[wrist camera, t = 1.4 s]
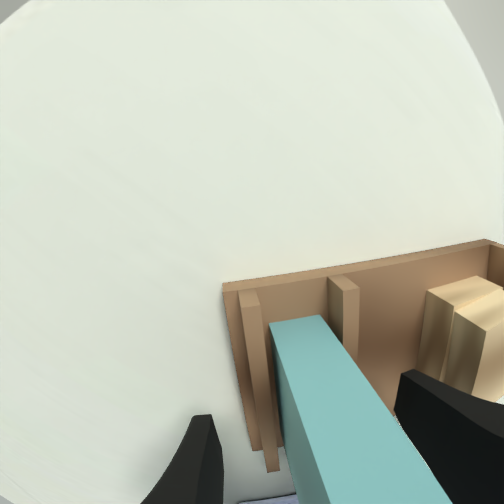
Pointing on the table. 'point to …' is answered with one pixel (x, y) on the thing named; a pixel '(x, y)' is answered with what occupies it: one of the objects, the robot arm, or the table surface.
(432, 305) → the lower oak offcut
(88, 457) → the table surface
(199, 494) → the robot arm
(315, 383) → the teal block
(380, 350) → the walnut rack
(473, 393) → the upper oak offcut
